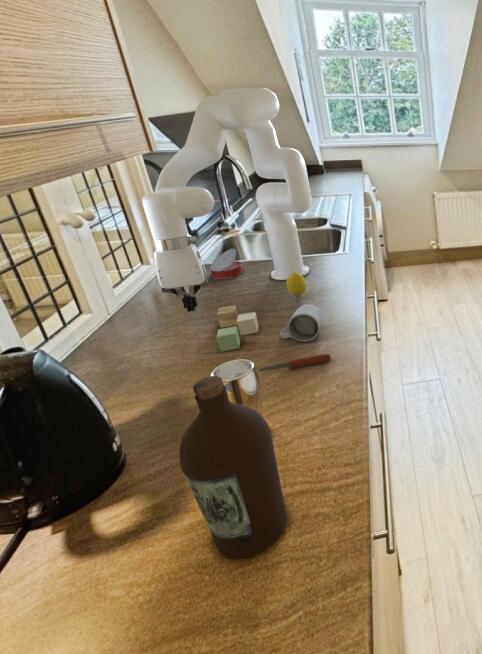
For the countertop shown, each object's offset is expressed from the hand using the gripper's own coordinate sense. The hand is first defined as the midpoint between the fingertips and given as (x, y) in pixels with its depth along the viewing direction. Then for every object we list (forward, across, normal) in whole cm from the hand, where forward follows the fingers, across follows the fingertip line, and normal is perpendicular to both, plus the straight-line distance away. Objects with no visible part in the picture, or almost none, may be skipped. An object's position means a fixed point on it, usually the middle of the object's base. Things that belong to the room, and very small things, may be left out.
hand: (192, 309), depth 120 cm
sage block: (+6, -9, +14) cm, 18 cm away
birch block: (+6, -8, 0) cm, 10 cm away
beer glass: (+7, -16, +53) cm, 55 cm away
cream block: (+6, -13, +7) cm, 16 cm away
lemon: (+6, -26, -11) cm, 29 cm away
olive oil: (+7, -17, +73) cm, 75 cm away
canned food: (+6, -3, -43) cm, 44 cm away
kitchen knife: (+6, -24, +31) cm, 40 cm away
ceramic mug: (+6, -27, +15) cm, 31 cm away
